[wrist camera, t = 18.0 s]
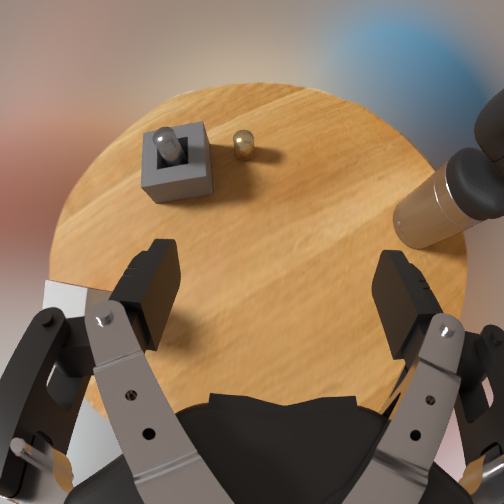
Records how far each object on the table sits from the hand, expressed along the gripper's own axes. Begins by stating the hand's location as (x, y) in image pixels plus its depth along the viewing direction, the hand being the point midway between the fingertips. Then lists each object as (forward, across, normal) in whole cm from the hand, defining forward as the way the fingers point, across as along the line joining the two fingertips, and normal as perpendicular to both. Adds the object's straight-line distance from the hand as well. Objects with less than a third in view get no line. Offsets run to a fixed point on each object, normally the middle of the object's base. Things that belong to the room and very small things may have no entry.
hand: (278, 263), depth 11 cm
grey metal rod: (+38, +15, +10) cm, 42 cm away
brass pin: (+41, +4, +7) cm, 42 cm away
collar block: (+38, +15, +9) cm, 42 cm away
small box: (+21, +26, +27) cm, 43 cm away
